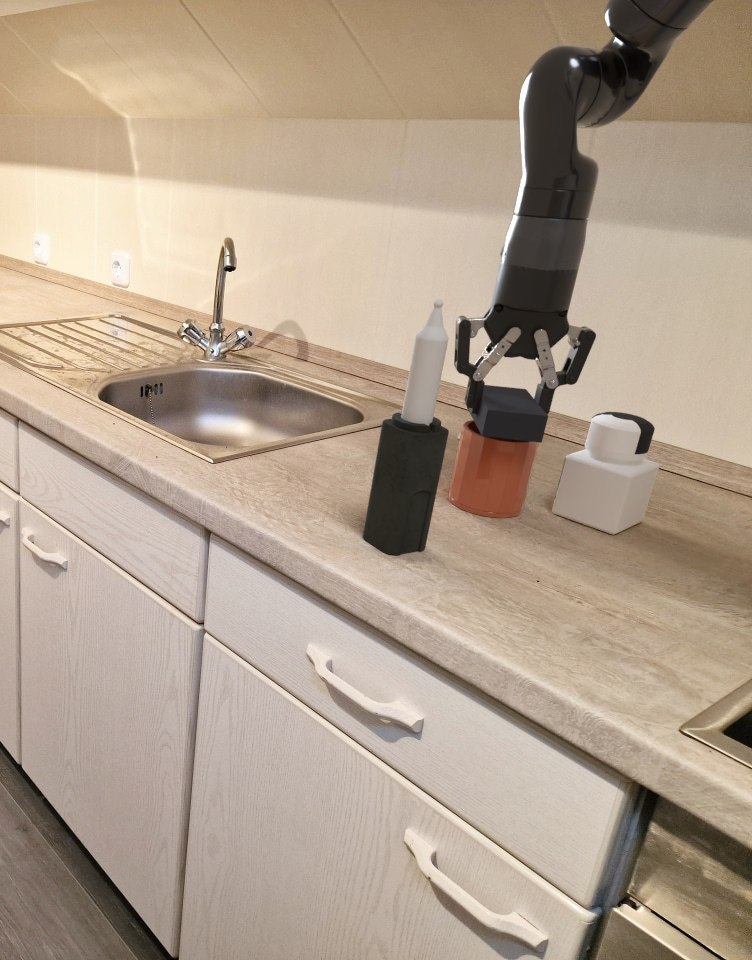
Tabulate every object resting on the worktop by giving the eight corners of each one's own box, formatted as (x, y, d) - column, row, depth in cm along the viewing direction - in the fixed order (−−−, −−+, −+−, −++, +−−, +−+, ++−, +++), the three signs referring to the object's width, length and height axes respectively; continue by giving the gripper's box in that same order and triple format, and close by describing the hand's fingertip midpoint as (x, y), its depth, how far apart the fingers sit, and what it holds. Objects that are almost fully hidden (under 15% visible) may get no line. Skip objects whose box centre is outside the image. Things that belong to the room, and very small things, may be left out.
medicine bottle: (580, 500, 101) (606, 403, 97) (643, 522, 96) (674, 420, 92) (549, 513, 97) (575, 412, 93) (614, 536, 92) (644, 431, 87)
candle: (396, 529, 91) (440, 294, 82) (430, 550, 87) (480, 303, 77) (357, 535, 89) (398, 295, 80) (390, 556, 85) (437, 305, 75)
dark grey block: (520, 413, 100) (526, 388, 99) (541, 443, 90) (548, 415, 89) (466, 407, 101) (471, 383, 100) (481, 436, 91) (487, 409, 90)
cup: (514, 495, 102) (531, 424, 98) (528, 522, 95) (547, 445, 91) (444, 487, 103) (458, 416, 100) (453, 512, 96) (469, 437, 93)
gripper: (472, 260, 87) (440, 417, 93) (626, 271, 84) (583, 433, 90) (461, 252, 94) (433, 399, 100) (603, 262, 91) (565, 413, 97)
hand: (504, 414), depth 95 cm, fingers closed on dark grey block, 6 cm apart
